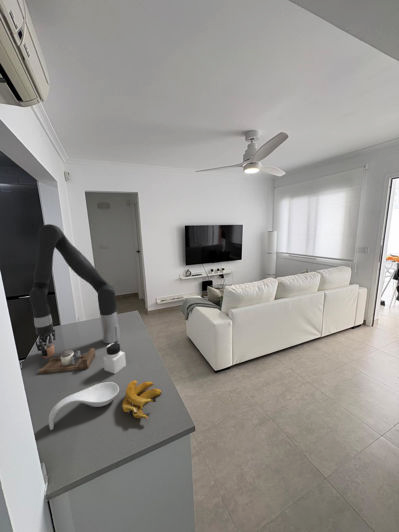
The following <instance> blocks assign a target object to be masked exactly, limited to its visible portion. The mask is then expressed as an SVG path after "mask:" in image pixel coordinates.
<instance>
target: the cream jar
mask: <svg viewBox="0 0 399 532" xmlns="http://www.w3.org/2000/svg"><path fill="white" fill-rule="evenodd" d="M74 353H75V352H74V351H73V349H68V350H67V349H66V350H65V351H62V352H61V353H60V357H61V362H62V367H66V366H71V365H72V357H73V354H74Z"/></svg>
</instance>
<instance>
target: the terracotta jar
mask: <svg viewBox="0 0 399 532" xmlns="http://www.w3.org/2000/svg"><path fill="white" fill-rule="evenodd" d="M43 346H44V345H43ZM47 354H48V355H47V356H45V357H43V356H42V355H41V356H42V359H47V358H48V359H50V358H52V357H53V356H55V355H56V352H55V343H52V342H49V343H48V345H47Z"/></svg>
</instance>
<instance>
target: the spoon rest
mask: <svg viewBox="0 0 399 532" xmlns="http://www.w3.org/2000/svg"><path fill="white" fill-rule="evenodd" d="M119 391H120V387H119V386H118V384H117V383H115V382H112V381H106V382H101V383H96V384H95V385H92V386H90V387H87V388H85V389H82V390H80V391H77V392H74V393H72V394H70V395H68V396H65V397H64V398H62V399H61V400H59V402H57V403H56V404H55V405H54V406H52V407H53V408H52V409H51V411H50V413H49V415H48V427H49V430H50V431H52V430H53V429H54V427H55V418H56V415H57V414H58V412H59V411H61V410H62V409H63V408H64V407H66V406H67V405H69V404H72V403H82V404H85V405H88V406H90V407H94V408H95V407H96V408H97V407H98V408H100V407H104V406H107V405H108V404H110V403H112V401H114V400H115V398H116V397H117V396H118V394H119Z"/></svg>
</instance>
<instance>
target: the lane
mask: <svg viewBox="0 0 399 532" xmlns="http://www.w3.org/2000/svg"><path fill="white" fill-rule="evenodd" d="M95 358H96V351H95V347H93V348H89V350H88V351H87V352H86V353H85V354H82V355H81V359H80V361H79V362H78V364H77V365H76V366H72V365H71V366H66V367H62V362H61V356H57V357H49V358H48V362H47V363H46V364H45V365H44V367H42V368H39V370H38V374H48V373H49V374H51V373H58V372H59V373H61V372H69V371H79V370H81V371H82V370H88V369H89V368H90V366H91V364H92V363H93V361H95V360H94V359H95Z"/></svg>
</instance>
